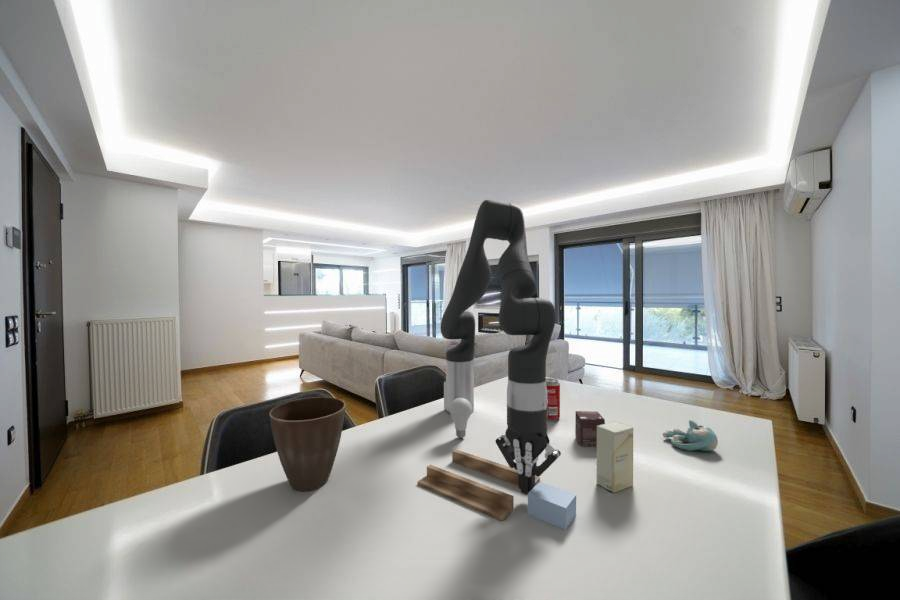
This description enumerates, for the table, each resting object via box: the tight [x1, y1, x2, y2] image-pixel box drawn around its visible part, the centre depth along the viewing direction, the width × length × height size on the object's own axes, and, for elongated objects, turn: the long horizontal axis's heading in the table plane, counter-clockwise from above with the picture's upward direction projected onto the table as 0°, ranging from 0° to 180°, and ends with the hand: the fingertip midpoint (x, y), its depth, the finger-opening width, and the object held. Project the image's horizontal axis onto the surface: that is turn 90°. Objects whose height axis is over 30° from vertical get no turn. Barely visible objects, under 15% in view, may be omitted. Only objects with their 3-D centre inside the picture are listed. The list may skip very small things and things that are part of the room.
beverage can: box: [546, 377, 561, 421], centre depth 112 cm, size 6×6×12 cm
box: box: [574, 410, 606, 448], centre depth 94 cm, size 6×6×7 cm
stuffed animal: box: [662, 419, 719, 452], centre depth 92 cm, size 11×7×12 cm
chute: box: [417, 448, 541, 522], centre depth 75 cm, size 20×16×2 cm
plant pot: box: [268, 396, 347, 492], centre depth 75 cm, size 15×15×16 cm
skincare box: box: [596, 420, 634, 493], centre depth 73 cm, size 6×4×12 cm
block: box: [527, 481, 577, 530], centre depth 64 cm, size 7×5×4 cm
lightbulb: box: [449, 398, 473, 439], centre depth 97 cm, size 6×6×11 cm
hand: (526, 492), depth 68 cm, fingers closed
